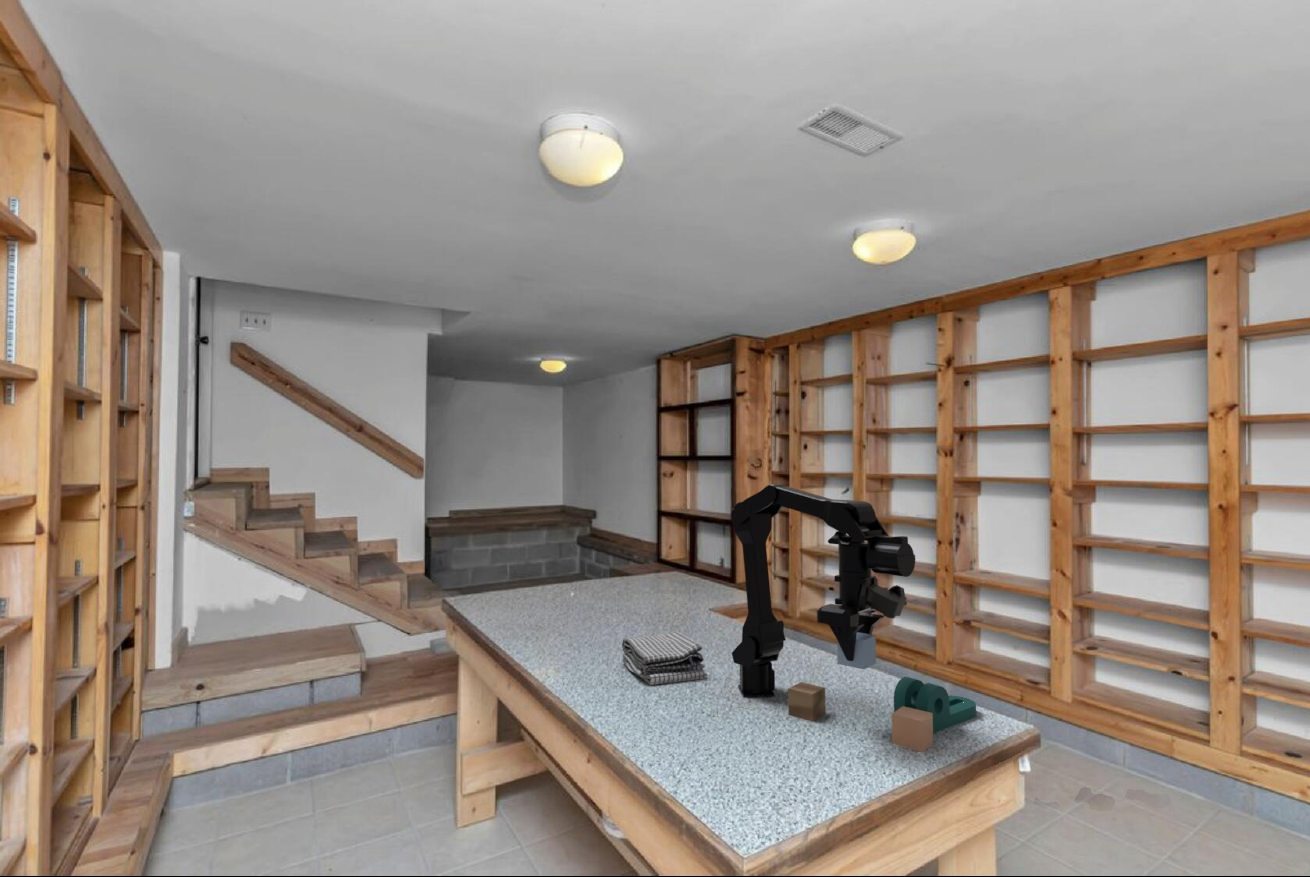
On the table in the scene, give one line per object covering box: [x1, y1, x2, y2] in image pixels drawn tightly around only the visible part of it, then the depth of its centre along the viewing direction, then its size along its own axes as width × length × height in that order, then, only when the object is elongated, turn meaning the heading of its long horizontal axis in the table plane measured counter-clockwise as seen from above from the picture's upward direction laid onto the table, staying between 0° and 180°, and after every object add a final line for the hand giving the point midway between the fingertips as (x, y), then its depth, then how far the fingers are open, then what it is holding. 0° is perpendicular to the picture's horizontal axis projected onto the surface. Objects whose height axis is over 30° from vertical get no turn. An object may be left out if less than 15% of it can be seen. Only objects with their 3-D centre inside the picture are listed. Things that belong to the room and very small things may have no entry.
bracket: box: [893, 676, 977, 734], centre depth 120 cm, size 18×7×8 cm, turn 124°
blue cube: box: [836, 632, 877, 670], centre depth 116 cm, size 5×5×5 cm
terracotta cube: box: [891, 706, 934, 753], centre depth 108 cm, size 5×5×5 cm
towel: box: [621, 631, 708, 686], centre depth 149 cm, size 15×18×8 cm
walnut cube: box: [787, 681, 826, 722], centre depth 122 cm, size 5×5×5 cm
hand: (856, 657), depth 116 cm, fingers closed on blue cube, 5 cm apart
